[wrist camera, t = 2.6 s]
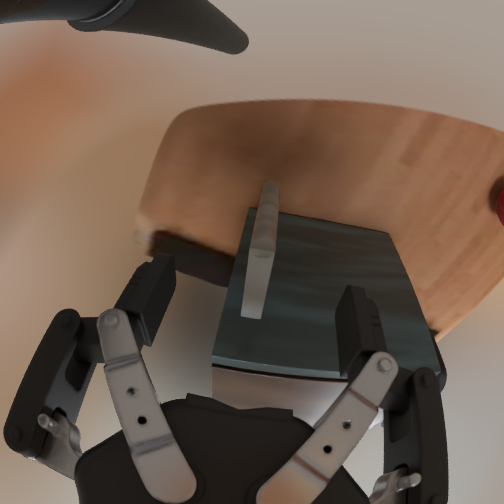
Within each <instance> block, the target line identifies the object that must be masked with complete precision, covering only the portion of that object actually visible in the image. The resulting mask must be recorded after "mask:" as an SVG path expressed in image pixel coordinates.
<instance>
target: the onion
mask: <svg viewBox="0 0 504 504" xmlns="http://www.w3.org/2000/svg"><path fill="white" fill-rule="evenodd" d="M497 214H498V217H499V220H500V221H501V223H502V225H503V226H504V189H503V190H502V191H501V193H500V194H499V196H498V199H497Z"/></svg>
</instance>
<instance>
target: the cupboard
mask: <svg viewBox="0 0 504 504" xmlns="http://www.w3.org/2000/svg"><path fill="white" fill-rule="evenodd" d="M211 381H212V398H213V399H216V400H218V401H220V402H222V403H225V404H227V405H229V406H232V407H234V408H237V409H253V408H263V407H272V408H281V409H292V410H293V416H295V417H297V418H300V419H302V420H303V421H305V422H307V423H308V424H309V425H311V426H313V425H314V424H315V423H316V422H317V421H318V420H319V419H320V418H321V416H322V415H323V414H324V413H325V412H326V411H327V410H328V408H329V407H330V406H331V405H332V404H333V402H334V401H335V400H336V399H337V397H338V396H339V395H340V393H341V392H342V391H343V390H344V388H345V387H346V386H347V385H348V379H339V378H322V377H309V376H298V375H289V374H280V373H272V372H264V371H257V370H250V369H244V368H238V367H232V366H226V365H220V364H215V363H212V366H211ZM378 409H379V412H378V414H377V416H376V417H375V419H374V420H373V422H372V424H371V425H370V427H369V428H368V429H370V428H371V427H373V426H374V425H376V424H377V423H379V422H380V421H382V420H383V409H380V408H378Z"/></svg>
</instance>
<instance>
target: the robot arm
mask: <svg viewBox="0 0 504 504" xmlns="http://www.w3.org/2000/svg"><path fill="white" fill-rule="evenodd" d="M124 1H125V0H0V24H4V23H11V22H22V21H36V20H73V21H81V22H93V21H97V20H100V19H102V18H104V17H106V16H108V15H109V14H111V13H112V12H114V11H115V10H116V9H117V8H118V7H119V6H120V5H121V4H122V3H123V2H124ZM175 286H176V272H175V260H174V256H173V255H168V254H163V253H157V254H156V255H155V257H154V259H153V261H152V262H145V263H143V264H142V265H141V266H139V267H138V268H137V269H136V271H135V273H134V274H133V276H132V278H131V279H130V281H129V283H128V284H127V286H126V287H125V289H124V291H123V292H122V294H121V296H120V297H119V299H118V301H117V303H116V304H115V306H114V308H113V309H108V310H106V311H104V312H103V313H101V314H100V316H99V317H80V315H79V313H78V312H77V311H76V310H74V309H64V310H62V311H60V312H58V313H57V314H56V316H55V317H54V319H53V320H52V322H51V324H50V326H49V328H48V329H47V331H46V333H45V335H44V337H43V339H42V340H41V342H40V344H39V346H38V348H37V350H36V352H35V354H34V356H33V358H32V360H31V362H30V365H29V366H28V369H27V371H26V373H25V375H24V377H23V379H22V382H21V384H20V386H19V389H18V391H17V394H16V397H15V398H14V401H13V403H12V406H11V409H10V411H9V415H8V417H7V420H6V423H5V426H4V433H3V434H4V438H5V441H6V443H7V445H8V446H9V447H10V448H11V449H12V450H13V451H15V452H18V453H20V454H22V455H23V456H24V457H26V458H29V459H31V460H33V461H35V462H38V463H40V464H44V465H46V466H48V467H49V468H51V469H53V470H55V471H57V472H59V473H61V474H63V475H65V476H66V477H68V478H71V479H73V480H75V484H76V487H77V491H78V496H79V504H447V501H448V453H447V440H446V429H445V421H444V413H443V407H442V400H441V394H440V388H439V382H438V378H437V376H436V374H435V373H434V371H433V370H431V369H430V368H428V367H420V368H418V369H417V370H416V371H415V372H413V371H410V370H407V369H404V368H402V367H399V366H398V364H397V361H396V360H395V358H394V357H393V356H392V355H390V354H389V353H388V351H387V347H386V342H385V337H384V333H383V328H382V326H381V320H380V316H379V312H378V308H377V306H376V305H375V303H374V302H373V300H372V299H368V298H367V297H366V293H365V289H364V287H362V286H355V285H347V286H346V288H345V290H344V292H343V295H342V297H341V299H340V301H339V303H338V305H337V308H336V311H335V325H336V335H337V346H338V359H339V373H340V378H348V385H347V386H346V387H345V388H344V390H343V391H342V392H341V393H340V395H339V396H338V397H337V399H336V400H335V401H334V402H333V404H332V405H331V406H330V407H329V408H328V410H327V411H326V412H325V413H324V414H323V415H322V416H321V418H320V419H319V420H318V421H317V422H316V423H315V424H314V425H313V426H311V425H309V424H308V423H307V422H305V421H303V420H302V419H300V418H297V417H295V416H293V410H292V409H281V408H272V407H263V408H253V409H237V408H234V407H232V406H229V405H227V404H225V403H222V402H220V401H218V400H216V399H213V398H209V397H204V396H199V395H195V394H190V393H187V396H186V399H176V400H171V401H168V402H165V403H163V404H161V403H160V400H159V398H158V396H157V394H156V391H155V389H154V386H153V384H152V382H151V379H150V376H149V374H148V371H147V369H146V366H145V363H144V361H143V358H142V355H141V349H142V347H143V345H146V346H150V347H151V346H152V343H153V341H154V338H155V336H156V333H157V331H158V328H159V326H160V324H161V321H162V319H163V317H164V314H165V312H166V310H167V307H168V305H169V303H170V300H171V298H172V296H173V293H174V291H175ZM97 363H105V366H104V372H105V375H106V380H107V383H108V387H109V390H110V393H111V397H112V400H113V403H114V406H115V409H116V412H117V415H118V418H119V421H120V424H121V427H122V430H120V431H119V432H117V433H115V434H114V435H112V436H111V437H109V438H107V439H106V440H104V441H103V442H101V443H99V444H97V445H96V446H94V447H92V448H91V449H89V450H87V451H86V452H84V453H82V452H81V448H80V439H81V436H80V432H79V429H78V428H77V426H76V425H75V423H76V420H77V417H78V413H79V411H80V408H81V405H82V402H83V399H84V396H85V393H86V391H87V388H88V385H89V383H90V380H91V377H92V375H93V372H94V369H95V367H96V364H97ZM378 408H380V409H383V420H384V472H383V475H382V476H380V477H379V478H378V479H377V481H376V483H375V486H374V488H373V492H372V494H371V496H370V497H369V498H368V497H367V495H366V494H365V493H364V491H363V490H362V489H361V488H360V487H359V485H358V484H357V483H356V482H355V481H354V479H353V478H352V477H351V476H350V474H349V473H348V472H347V471H346V469H345V468H344V467H343V465H342V464H343V463H344V461H345V460H346V459H347V457H348V456H349V454H350V453H351V452H352V451H353V449H354V448H355V447H356V445H357V444H358V443H359V441H360V440H361V438H362V437H363V435H364V434H365V432H366V431H367V430H368V428H369V427H370V425H371V424H372V422H373V420H374V419H375V417H376V416H377V414H378V412H379V409H378Z"/></svg>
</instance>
